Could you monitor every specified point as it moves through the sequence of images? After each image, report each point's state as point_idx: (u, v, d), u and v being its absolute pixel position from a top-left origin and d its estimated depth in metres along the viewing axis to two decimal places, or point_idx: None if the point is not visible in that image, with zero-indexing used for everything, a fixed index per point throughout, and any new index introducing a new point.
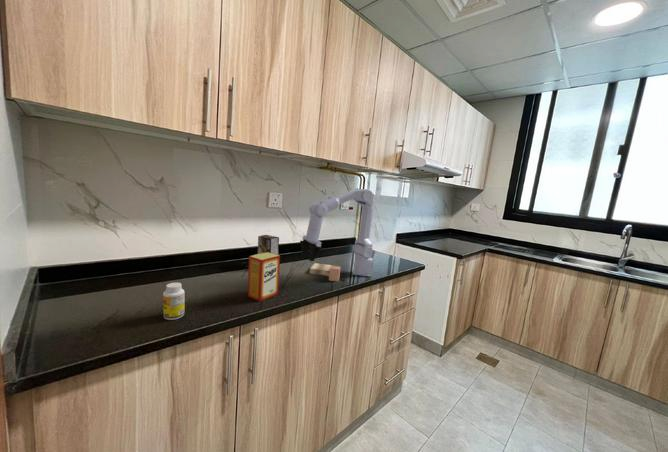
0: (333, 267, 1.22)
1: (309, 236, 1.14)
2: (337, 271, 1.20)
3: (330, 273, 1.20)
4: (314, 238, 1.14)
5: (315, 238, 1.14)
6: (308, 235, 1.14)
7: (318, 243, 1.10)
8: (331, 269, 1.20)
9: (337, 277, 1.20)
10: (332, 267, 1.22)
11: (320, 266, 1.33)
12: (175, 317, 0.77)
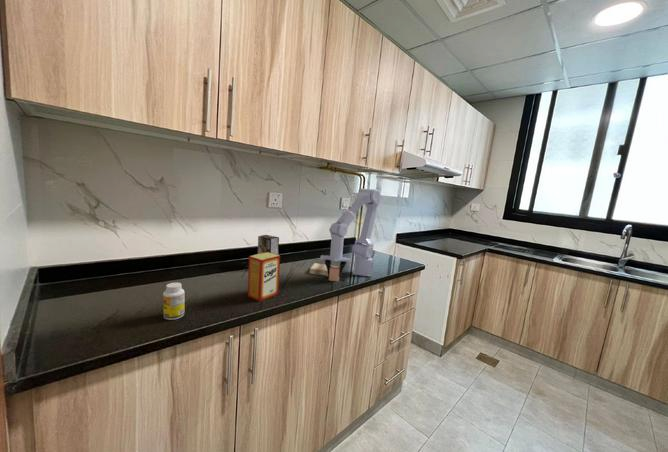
0: (333, 267, 1.22)
1: (338, 256, 1.19)
2: (337, 271, 1.20)
3: (330, 273, 1.20)
4: (341, 256, 1.21)
5: None
6: (337, 256, 1.18)
7: None
8: (331, 269, 1.20)
9: (337, 277, 1.20)
10: (332, 267, 1.22)
11: (320, 266, 1.33)
12: (175, 317, 0.77)
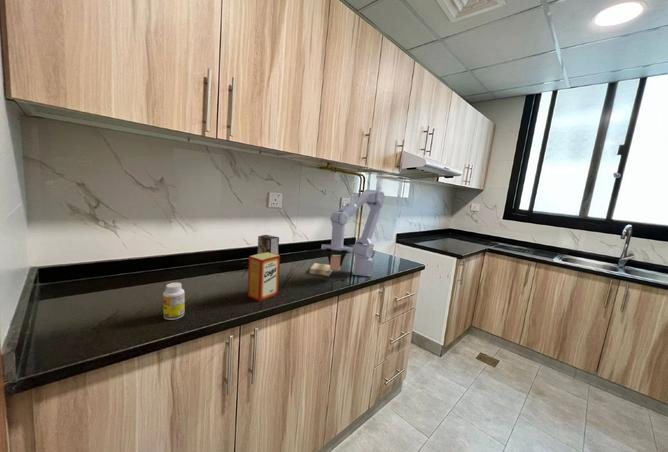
0: (334, 256, 1.21)
1: (339, 245, 1.18)
2: (338, 260, 1.19)
3: (331, 262, 1.20)
4: None
5: None
6: (338, 244, 1.18)
7: None
8: (332, 258, 1.19)
9: (338, 266, 1.19)
10: (333, 256, 1.21)
11: (320, 266, 1.33)
12: (175, 317, 0.77)
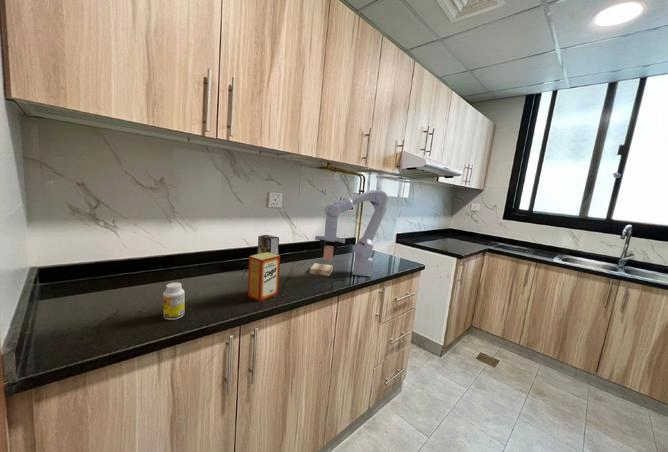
0: (327, 247, 1.26)
1: (332, 236, 1.23)
2: (331, 250, 1.24)
3: (324, 252, 1.24)
4: (335, 236, 1.25)
5: None
6: (331, 235, 1.22)
7: (344, 240, 1.24)
8: (325, 248, 1.24)
9: (331, 256, 1.24)
10: (326, 247, 1.26)
11: (320, 266, 1.33)
12: (175, 317, 0.77)
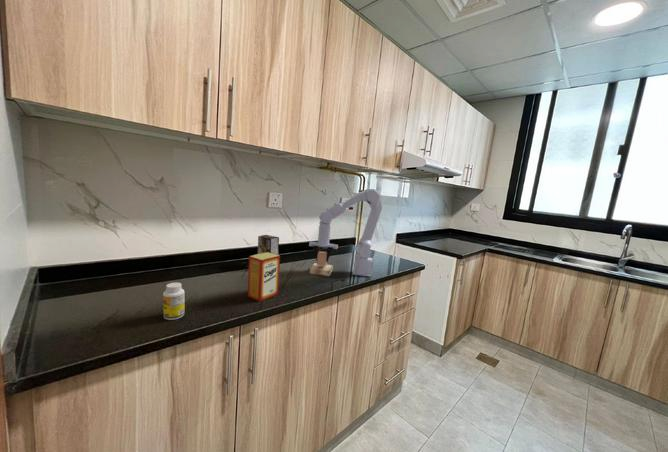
0: (321, 252, 1.31)
1: (325, 242, 1.28)
2: (324, 256, 1.29)
3: (318, 258, 1.30)
4: (328, 242, 1.30)
5: None
6: (324, 242, 1.28)
7: (337, 246, 1.29)
8: (319, 254, 1.29)
9: (324, 262, 1.29)
10: (320, 252, 1.31)
11: (320, 266, 1.33)
12: (175, 317, 0.77)
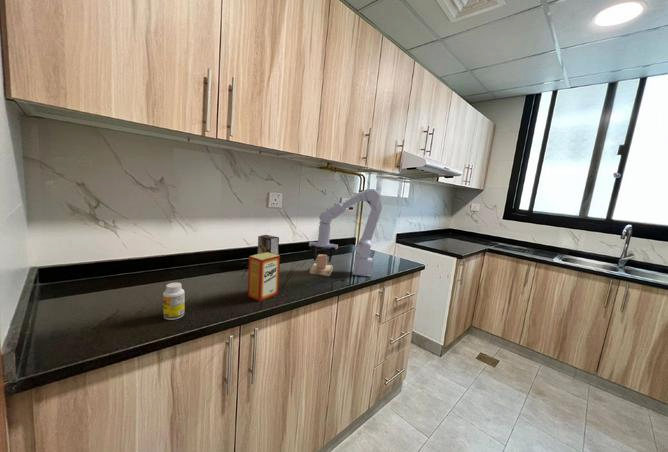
0: (320, 255, 1.31)
1: (325, 242, 1.28)
2: (324, 259, 1.29)
3: (317, 261, 1.30)
4: (328, 242, 1.30)
5: None
6: (324, 242, 1.28)
7: (337, 246, 1.29)
8: (318, 257, 1.30)
9: (324, 264, 1.30)
10: (319, 255, 1.31)
11: None
12: (175, 317, 0.77)
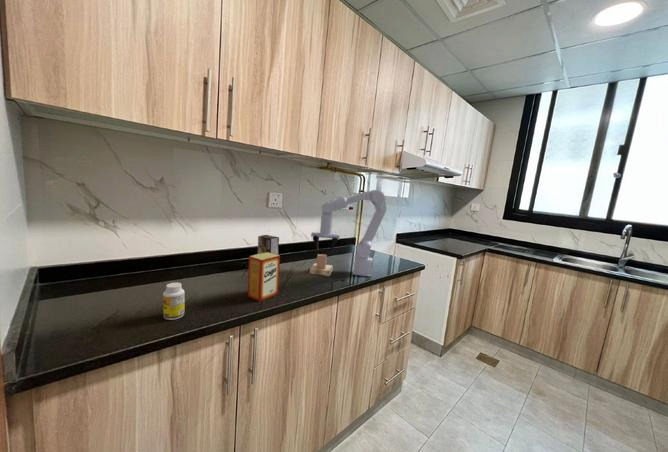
0: (320, 255, 1.31)
1: (328, 232, 1.29)
2: (324, 259, 1.29)
3: (317, 261, 1.30)
4: None
5: None
6: (326, 232, 1.29)
7: (339, 236, 1.30)
8: (318, 257, 1.29)
9: (324, 264, 1.30)
10: (319, 255, 1.31)
11: None
12: (175, 317, 0.77)
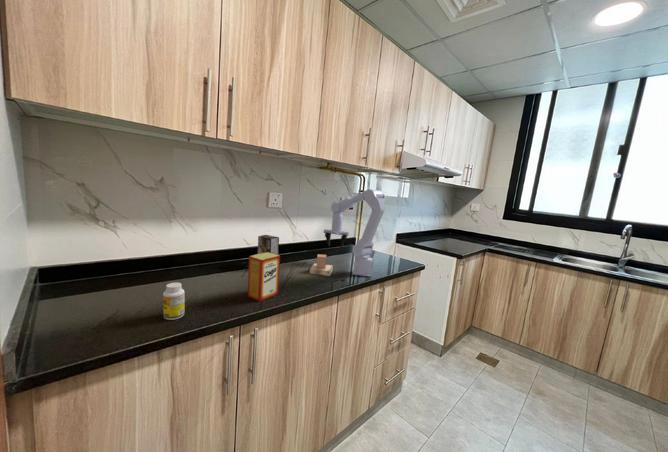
0: (320, 255, 1.31)
1: (338, 230, 1.43)
2: (324, 259, 1.29)
3: (318, 261, 1.29)
4: (341, 230, 1.45)
5: (341, 230, 1.46)
6: (337, 229, 1.43)
7: (348, 233, 1.44)
8: (318, 257, 1.29)
9: (324, 264, 1.30)
10: (319, 255, 1.31)
11: None
12: (175, 317, 0.77)
